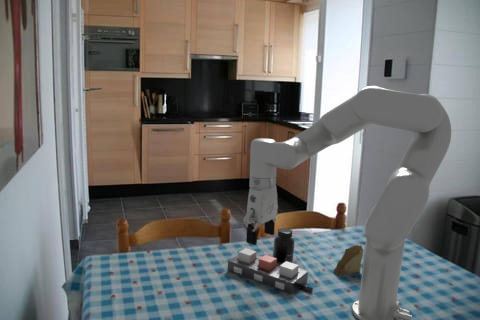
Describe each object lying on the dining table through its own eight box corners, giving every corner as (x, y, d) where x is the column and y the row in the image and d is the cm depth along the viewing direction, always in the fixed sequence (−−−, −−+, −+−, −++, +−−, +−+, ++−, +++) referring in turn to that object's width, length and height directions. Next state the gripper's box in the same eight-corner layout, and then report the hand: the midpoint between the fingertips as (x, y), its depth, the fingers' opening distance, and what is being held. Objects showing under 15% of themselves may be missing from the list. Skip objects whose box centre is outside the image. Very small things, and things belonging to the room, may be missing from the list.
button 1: (297, 283, 131) (298, 265, 130) (290, 288, 128) (292, 269, 126) (284, 279, 133) (286, 261, 132) (278, 284, 130) (279, 265, 129)
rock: (336, 274, 135) (368, 270, 135) (331, 247, 138) (362, 244, 139) (330, 280, 144) (359, 277, 145) (325, 254, 148) (354, 251, 148)
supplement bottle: (291, 269, 141) (294, 235, 139) (271, 267, 142) (273, 232, 140) (293, 261, 148) (296, 228, 145) (273, 258, 149) (276, 225, 146)
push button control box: (318, 287, 130) (320, 275, 129) (303, 300, 122) (305, 287, 121) (245, 261, 145) (245, 250, 144) (227, 272, 137) (227, 260, 136)
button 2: (275, 276, 135) (276, 258, 134) (269, 280, 132) (270, 262, 131) (264, 272, 137) (265, 254, 136) (257, 276, 134) (258, 258, 133)
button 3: (255, 268, 139) (256, 251, 138) (248, 273, 136) (249, 255, 135) (244, 265, 141) (245, 248, 140) (237, 269, 138) (238, 251, 137)
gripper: (257, 190, 114) (255, 251, 117) (288, 178, 128) (286, 233, 131) (234, 185, 118) (233, 244, 121) (267, 174, 132) (265, 227, 135)
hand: (260, 238), depth 126 cm, fingers open, 9 cm apart
